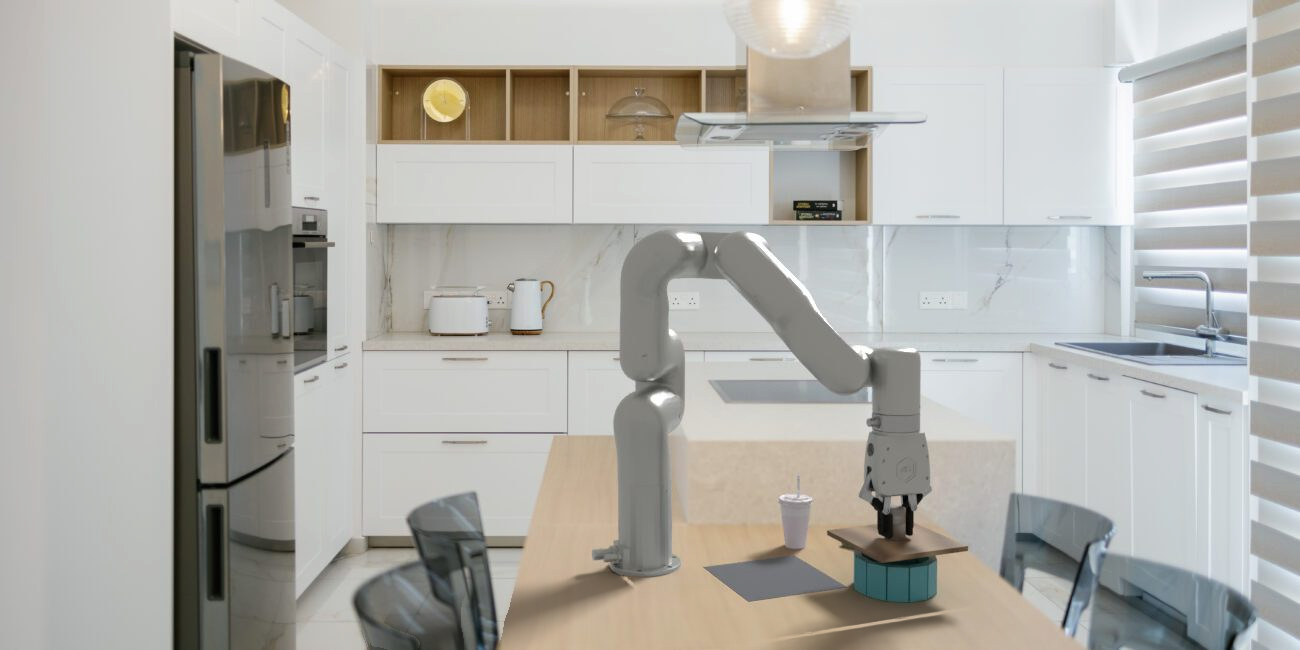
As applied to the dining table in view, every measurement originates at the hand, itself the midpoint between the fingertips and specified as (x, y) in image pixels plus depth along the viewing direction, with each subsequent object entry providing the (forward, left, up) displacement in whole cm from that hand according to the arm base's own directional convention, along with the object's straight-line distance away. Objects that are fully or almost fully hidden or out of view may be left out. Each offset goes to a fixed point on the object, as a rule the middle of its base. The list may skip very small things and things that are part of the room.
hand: (895, 533), depth 154 cm
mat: (-16, +12, -10) cm, 22 cm away
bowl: (0, 0, -10) cm, 10 cm away
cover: (0, 0, -1) cm, 1 cm away
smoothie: (-4, +26, -10) cm, 28 cm away
